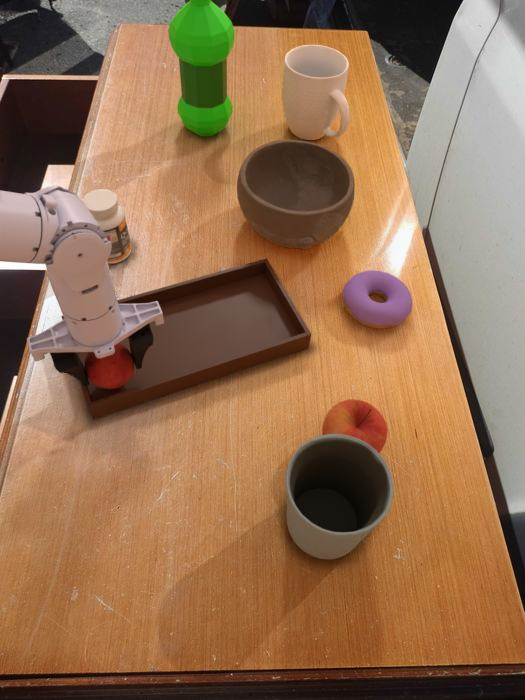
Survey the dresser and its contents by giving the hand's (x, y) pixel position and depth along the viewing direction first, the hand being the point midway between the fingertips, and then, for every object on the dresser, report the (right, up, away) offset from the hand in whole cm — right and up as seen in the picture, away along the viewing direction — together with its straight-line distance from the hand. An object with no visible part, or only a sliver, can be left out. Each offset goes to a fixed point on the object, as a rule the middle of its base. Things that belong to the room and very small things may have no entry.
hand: (111, 370), depth 69 cm
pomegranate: (0, -1, +2) cm, 3 cm away
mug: (+28, +43, +35) cm, 62 cm away
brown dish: (+8, +4, +7) cm, 12 cm away
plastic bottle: (+8, +44, +35) cm, 56 cm away
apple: (+29, -9, -1) cm, 30 cm away
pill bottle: (-4, +17, +16) cm, 24 cm away
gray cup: (+25, -17, -6) cm, 31 cm away
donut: (+35, +9, +12) cm, 38 cm away
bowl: (+23, +23, +21) cm, 39 cm away
